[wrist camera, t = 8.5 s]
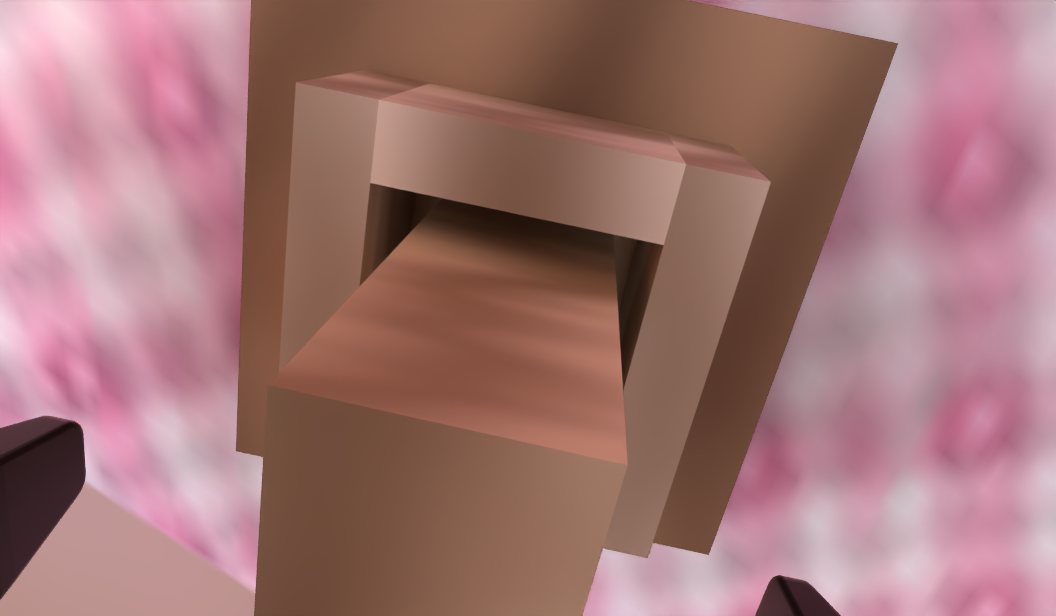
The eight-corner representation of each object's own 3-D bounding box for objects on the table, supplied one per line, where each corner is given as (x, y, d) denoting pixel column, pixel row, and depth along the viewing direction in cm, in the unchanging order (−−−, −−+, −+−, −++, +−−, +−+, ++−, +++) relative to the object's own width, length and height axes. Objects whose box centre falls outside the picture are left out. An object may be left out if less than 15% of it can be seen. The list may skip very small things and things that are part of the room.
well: (880, 42, 16) (997, 48, 11) (703, 531, 21) (732, 673, 16) (273, -83, 16) (140, -127, 11) (251, 432, 21) (154, 544, 17)
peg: (612, 224, 17) (628, 464, 8) (576, 369, 18) (551, 718, 9) (450, 189, 17) (267, 385, 8) (427, 336, 18) (252, 648, 9)
